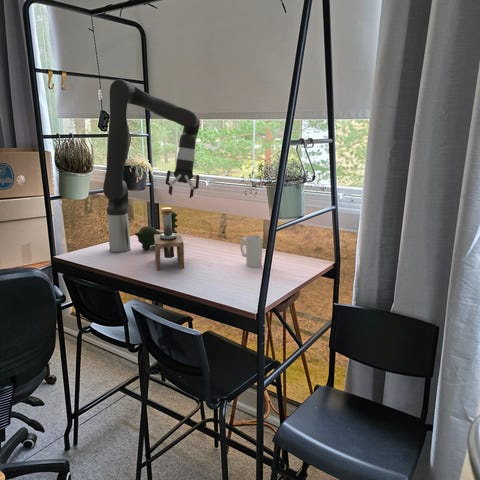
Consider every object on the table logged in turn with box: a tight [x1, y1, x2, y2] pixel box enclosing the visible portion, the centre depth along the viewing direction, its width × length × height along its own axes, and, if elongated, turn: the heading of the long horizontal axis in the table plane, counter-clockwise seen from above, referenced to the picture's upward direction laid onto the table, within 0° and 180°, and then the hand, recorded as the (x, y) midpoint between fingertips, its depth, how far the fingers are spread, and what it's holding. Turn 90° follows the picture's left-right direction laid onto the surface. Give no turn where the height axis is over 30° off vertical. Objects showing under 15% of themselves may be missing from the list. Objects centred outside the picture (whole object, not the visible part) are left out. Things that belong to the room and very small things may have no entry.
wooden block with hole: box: [154, 232, 185, 271], centre depth 178 cm, size 11×16×11 cm
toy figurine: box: [134, 211, 179, 251], centre depth 203 cm, size 9×19×25 cm
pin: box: [160, 207, 177, 259], centre depth 176 cm, size 7×7×20 cm
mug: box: [239, 234, 263, 268], centre depth 177 cm, size 10×7×12 cm, turn 56°
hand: (180, 196), depth 186 cm, fingers open, 8 cm apart
